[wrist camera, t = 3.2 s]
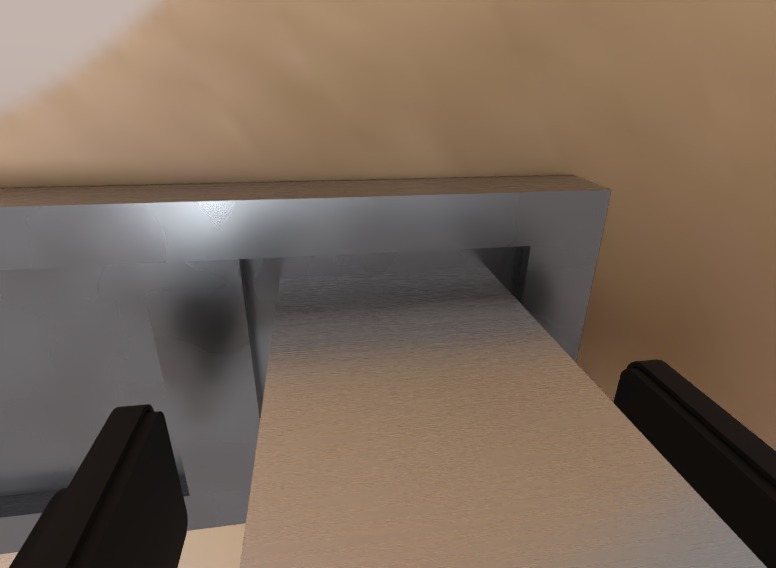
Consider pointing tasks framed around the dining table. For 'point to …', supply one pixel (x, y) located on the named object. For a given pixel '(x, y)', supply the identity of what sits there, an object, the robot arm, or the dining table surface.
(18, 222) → the rail
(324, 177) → the dining table surface
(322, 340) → the block
